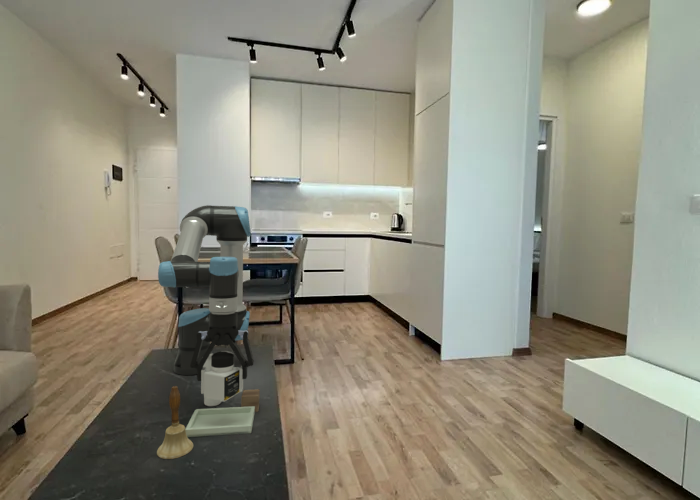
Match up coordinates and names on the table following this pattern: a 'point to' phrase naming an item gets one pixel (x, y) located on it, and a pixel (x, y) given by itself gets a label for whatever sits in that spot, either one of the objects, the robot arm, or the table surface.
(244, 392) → the walnut block
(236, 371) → the medicine bottle
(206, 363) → the drinking glass
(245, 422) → the tray
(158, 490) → the table surface
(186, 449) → the hand bell
